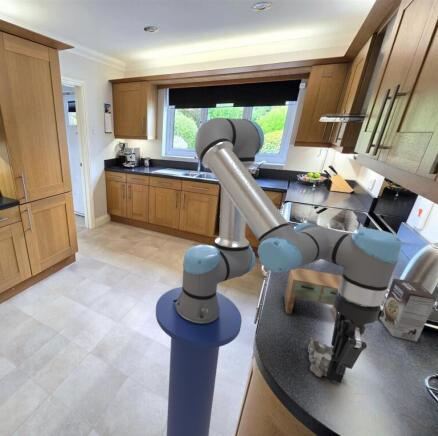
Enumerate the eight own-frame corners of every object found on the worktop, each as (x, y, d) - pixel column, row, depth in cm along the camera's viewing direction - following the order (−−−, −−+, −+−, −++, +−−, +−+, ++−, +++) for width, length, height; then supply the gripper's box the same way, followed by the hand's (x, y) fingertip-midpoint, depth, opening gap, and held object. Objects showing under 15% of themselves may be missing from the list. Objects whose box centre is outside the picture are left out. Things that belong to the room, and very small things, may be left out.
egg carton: (306, 346, 73) (309, 334, 72) (337, 356, 69) (341, 345, 68) (307, 373, 64) (311, 361, 63) (343, 387, 60) (347, 375, 59)
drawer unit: (286, 313, 87) (293, 279, 82) (284, 297, 95) (290, 266, 91) (344, 328, 80) (356, 292, 75) (336, 310, 88) (346, 276, 84)
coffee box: (378, 318, 85) (392, 277, 80) (401, 322, 82) (418, 281, 78) (391, 336, 77) (408, 292, 72) (418, 342, 74) (438, 297, 69)
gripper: (393, 321, 46) (361, 410, 53) (369, 287, 58) (344, 364, 65) (345, 310, 50) (320, 395, 57) (331, 279, 61) (311, 353, 68)
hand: (333, 378), depth 61 cm, fingers closed
